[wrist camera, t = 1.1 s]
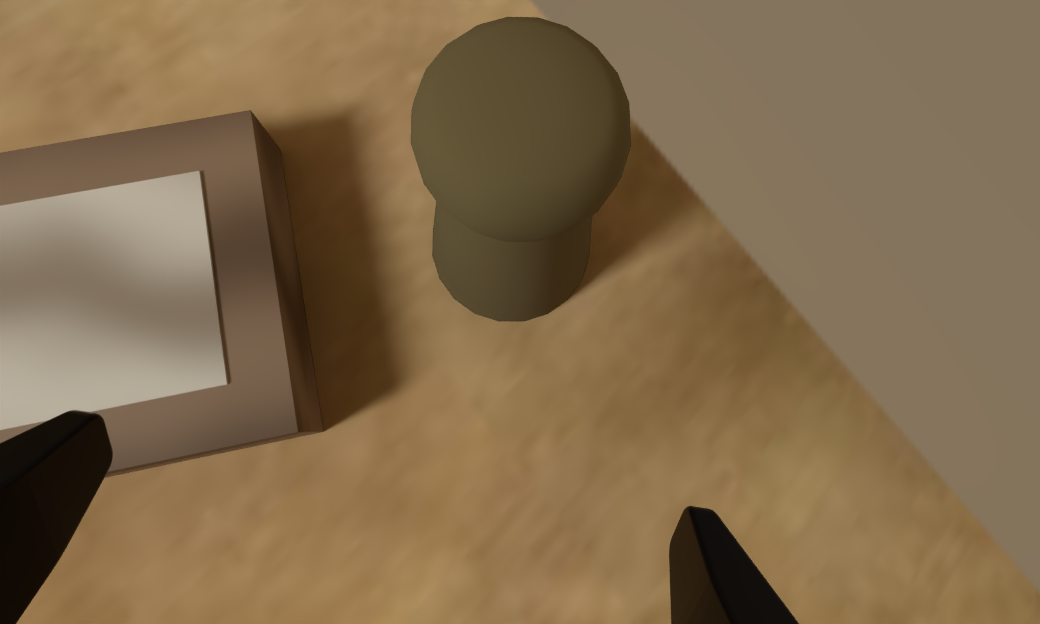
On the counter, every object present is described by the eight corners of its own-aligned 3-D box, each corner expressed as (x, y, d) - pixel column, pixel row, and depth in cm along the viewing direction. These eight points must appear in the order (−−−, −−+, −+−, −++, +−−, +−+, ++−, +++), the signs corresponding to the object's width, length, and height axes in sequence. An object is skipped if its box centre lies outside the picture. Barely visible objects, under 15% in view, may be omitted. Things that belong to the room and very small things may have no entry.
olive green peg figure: (602, 309, 24) (692, 210, 13) (443, 333, 23) (399, 252, 13) (574, 160, 25) (636, -47, 14) (421, 180, 24) (364, -15, 14)
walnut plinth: (323, 431, 23) (296, 432, 20) (3, 498, 22) (-76, 510, 19) (279, 148, 24) (249, 109, 21) (-17, 200, 24) (-92, 166, 21)
